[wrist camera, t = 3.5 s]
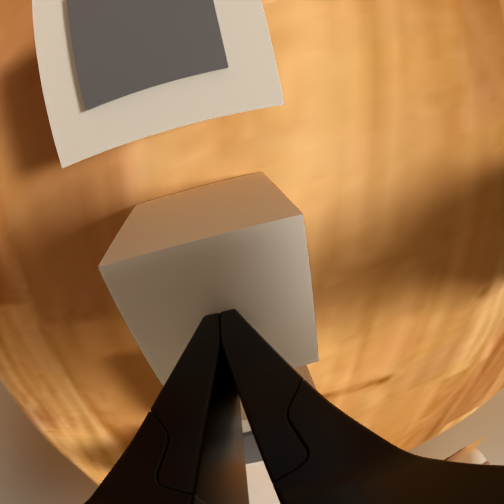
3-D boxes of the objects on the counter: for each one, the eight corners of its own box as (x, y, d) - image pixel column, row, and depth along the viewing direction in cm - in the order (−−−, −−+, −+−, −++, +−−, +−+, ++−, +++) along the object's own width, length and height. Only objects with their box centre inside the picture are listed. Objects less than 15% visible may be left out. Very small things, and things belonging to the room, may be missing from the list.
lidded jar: (483, 434, 41) (501, 462, 32) (455, 459, 45) (470, 487, 37) (455, 449, 38) (474, 482, 30) (426, 474, 43) (441, 505, 34)
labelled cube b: (249, 107, 10) (286, 104, 6) (113, 144, 10) (51, 173, 5) (222, -9, 8) (239, -81, 3) (88, 29, 8) (21, -10, 3)
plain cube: (282, 281, 14) (318, 360, 9) (174, 307, 13) (169, 395, 9) (262, 171, 11) (303, 214, 7) (136, 204, 11) (97, 267, 7)
